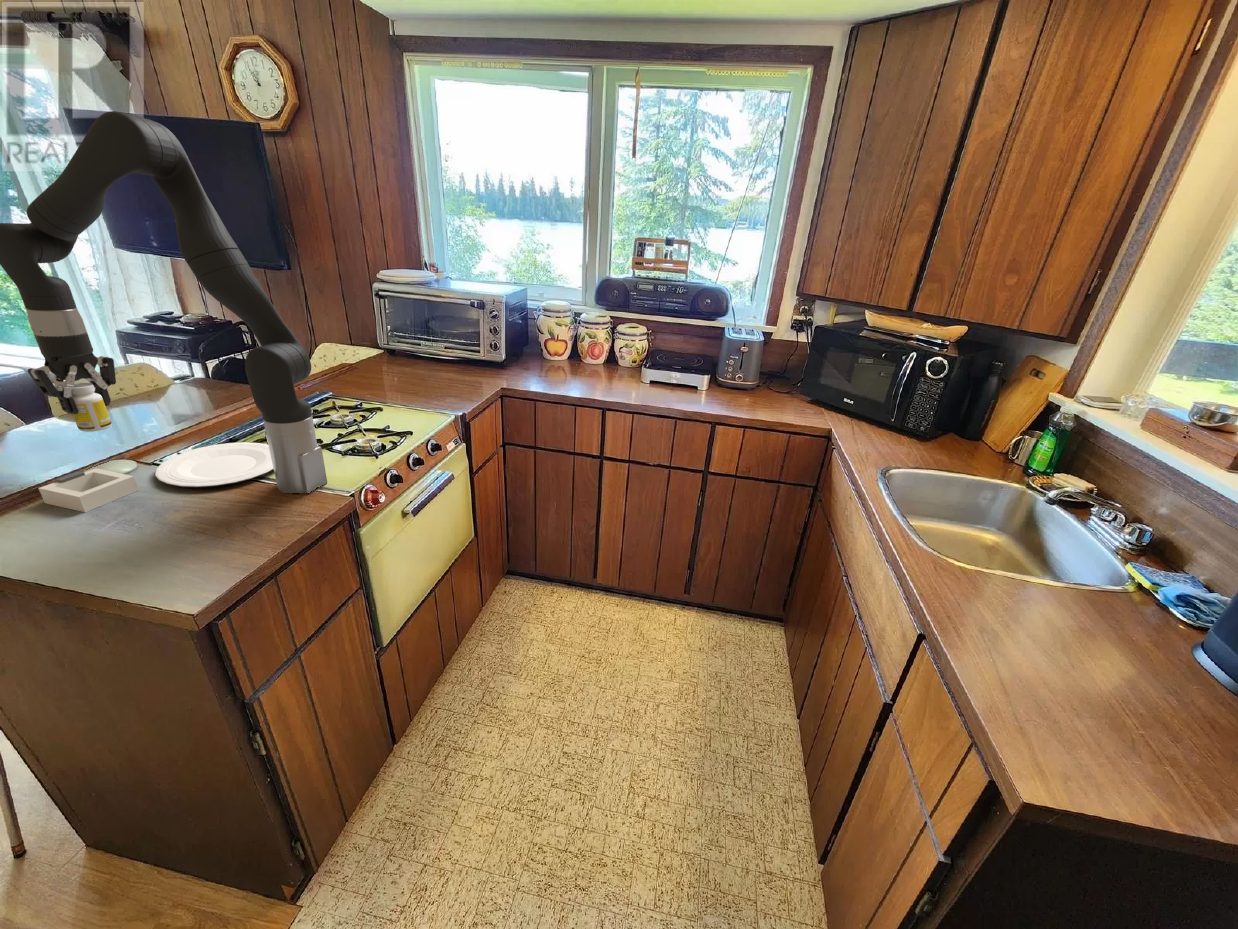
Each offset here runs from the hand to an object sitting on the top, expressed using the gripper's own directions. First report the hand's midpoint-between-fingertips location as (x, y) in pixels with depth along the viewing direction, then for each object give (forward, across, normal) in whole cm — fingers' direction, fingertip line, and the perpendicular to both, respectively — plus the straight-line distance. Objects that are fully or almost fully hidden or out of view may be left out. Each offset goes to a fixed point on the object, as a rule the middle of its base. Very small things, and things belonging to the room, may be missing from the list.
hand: (89, 408), depth 109 cm
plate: (+15, +10, -20) cm, 27 cm away
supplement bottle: (+5, 0, 0) cm, 5 cm away
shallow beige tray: (+15, -10, -9) cm, 20 cm away
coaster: (+15, 0, 0) cm, 15 cm away
